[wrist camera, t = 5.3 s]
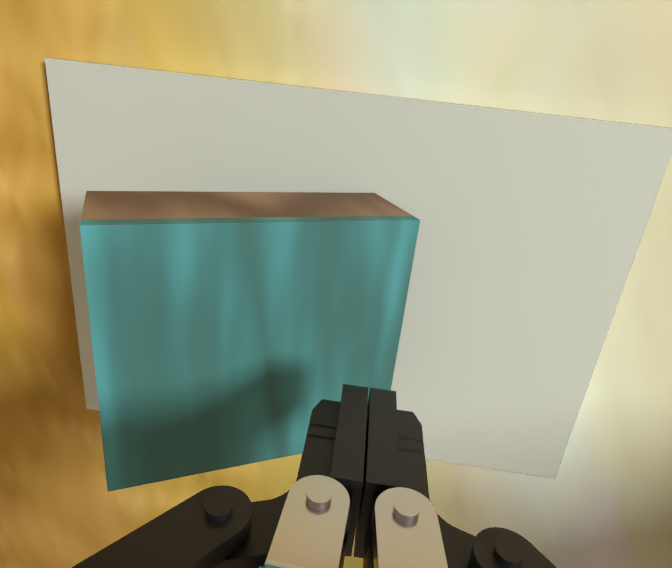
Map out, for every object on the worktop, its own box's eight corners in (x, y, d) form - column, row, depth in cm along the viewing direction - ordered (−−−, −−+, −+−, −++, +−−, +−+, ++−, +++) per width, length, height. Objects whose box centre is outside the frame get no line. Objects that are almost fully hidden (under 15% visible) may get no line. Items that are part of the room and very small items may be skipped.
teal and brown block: (420, 219, 17) (79, 225, 13) (382, 437, 20) (107, 491, 16) (374, 192, 19) (86, 190, 16) (348, 386, 23) (109, 422, 19)
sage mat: (672, 128, 18) (680, 129, 18) (551, 470, 24) (554, 478, 24) (52, 58, 19) (44, 58, 19) (91, 402, 26) (86, 409, 25)
